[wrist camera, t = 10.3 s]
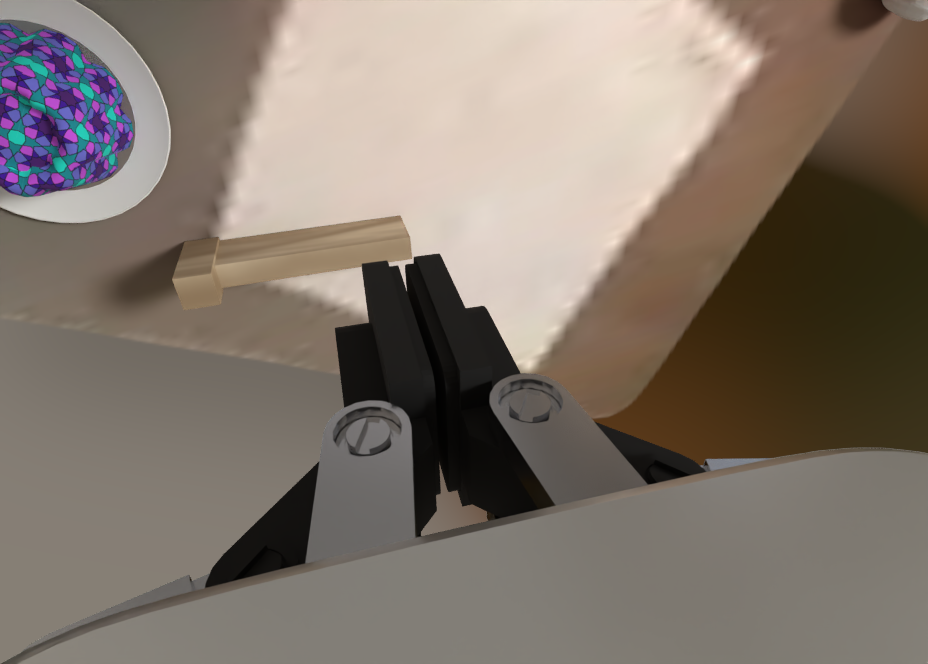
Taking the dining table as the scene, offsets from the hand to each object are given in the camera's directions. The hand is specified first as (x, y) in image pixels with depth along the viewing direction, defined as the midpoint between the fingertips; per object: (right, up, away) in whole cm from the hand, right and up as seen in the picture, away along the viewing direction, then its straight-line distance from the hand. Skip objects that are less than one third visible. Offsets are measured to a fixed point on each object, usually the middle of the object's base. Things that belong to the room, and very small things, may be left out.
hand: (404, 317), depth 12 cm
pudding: (-21, +11, +17) cm, 29 cm away
